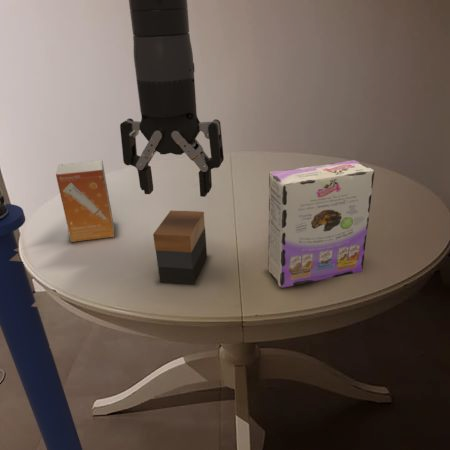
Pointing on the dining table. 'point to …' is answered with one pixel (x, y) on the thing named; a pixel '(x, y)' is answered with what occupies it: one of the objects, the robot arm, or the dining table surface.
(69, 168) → the small box
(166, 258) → the grey pad
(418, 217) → the dining table surface
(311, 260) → the candy box
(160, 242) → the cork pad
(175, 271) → the black pad
